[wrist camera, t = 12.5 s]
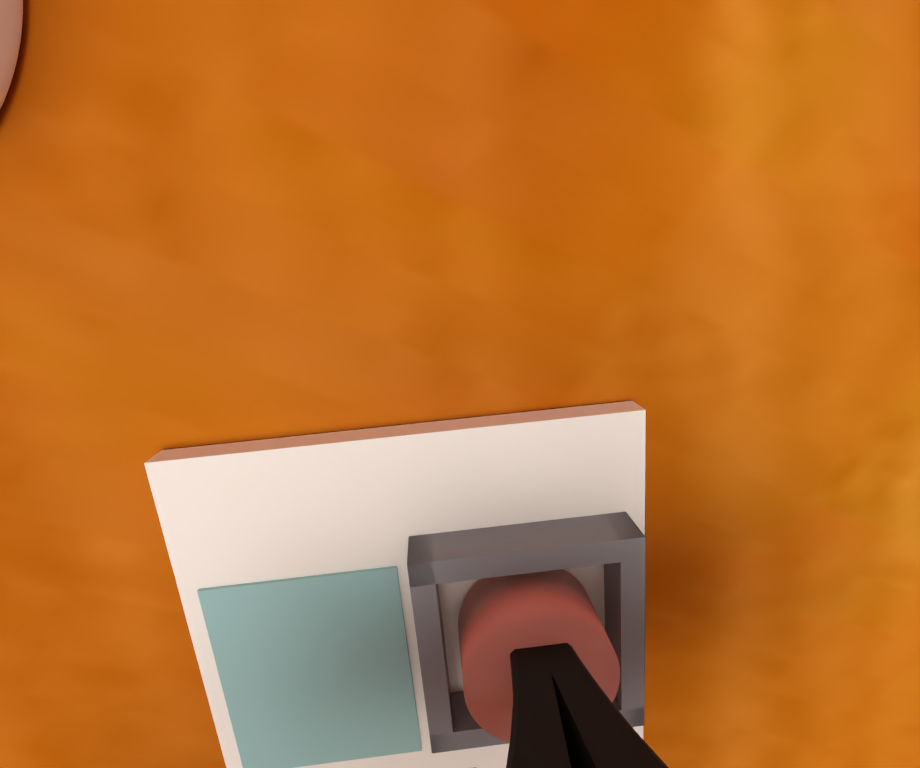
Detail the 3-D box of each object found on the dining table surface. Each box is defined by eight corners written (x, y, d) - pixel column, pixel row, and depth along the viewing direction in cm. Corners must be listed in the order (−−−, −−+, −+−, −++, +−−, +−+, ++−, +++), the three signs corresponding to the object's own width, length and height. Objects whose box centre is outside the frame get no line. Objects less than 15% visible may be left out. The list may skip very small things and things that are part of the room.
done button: (593, 667, 14) (620, 735, 12) (464, 684, 14) (470, 755, 12) (590, 553, 13) (619, 606, 11) (451, 570, 13) (456, 626, 11)
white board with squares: (632, 928, 18) (657, 1009, 16) (298, 977, 18) (282, 1067, 16) (632, 400, 13) (668, 426, 11) (161, 450, 12) (112, 486, 11)
